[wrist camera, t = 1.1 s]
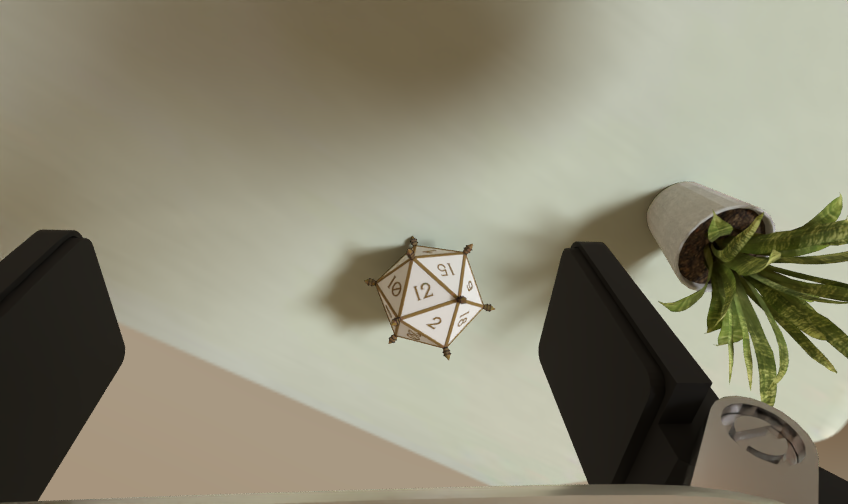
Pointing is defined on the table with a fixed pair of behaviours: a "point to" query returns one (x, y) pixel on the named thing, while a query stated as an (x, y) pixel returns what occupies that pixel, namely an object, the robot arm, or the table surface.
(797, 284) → the house plant
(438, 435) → the table surface
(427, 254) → the game die
